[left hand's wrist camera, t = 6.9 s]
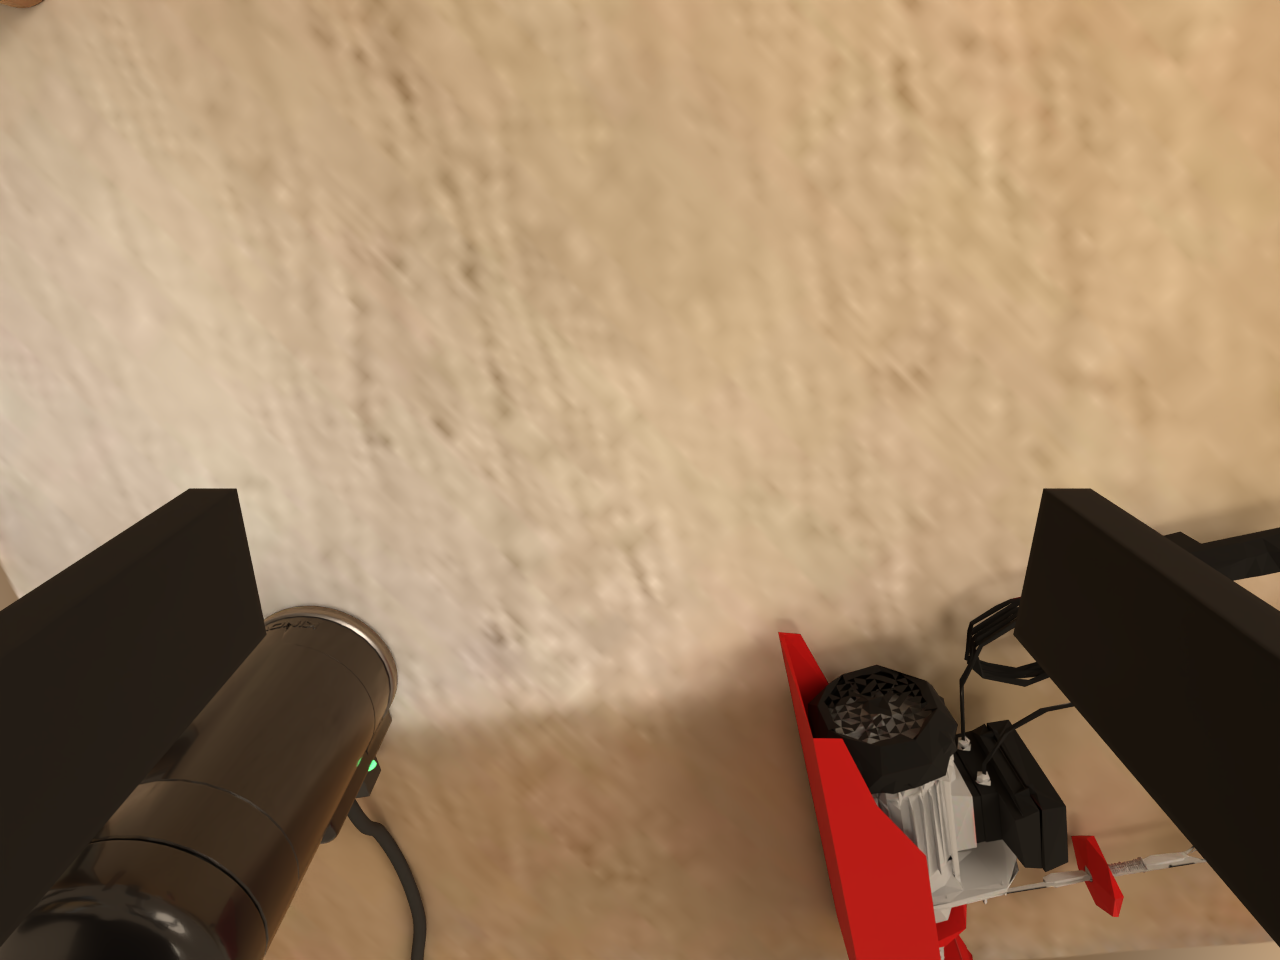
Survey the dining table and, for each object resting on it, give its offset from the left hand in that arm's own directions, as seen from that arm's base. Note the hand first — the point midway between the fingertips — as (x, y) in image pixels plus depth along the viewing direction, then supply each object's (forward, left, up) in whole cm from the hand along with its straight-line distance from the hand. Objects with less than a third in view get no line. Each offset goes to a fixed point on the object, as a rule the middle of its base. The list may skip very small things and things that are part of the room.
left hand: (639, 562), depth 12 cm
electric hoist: (+27, +26, -28) cm, 47 cm away
